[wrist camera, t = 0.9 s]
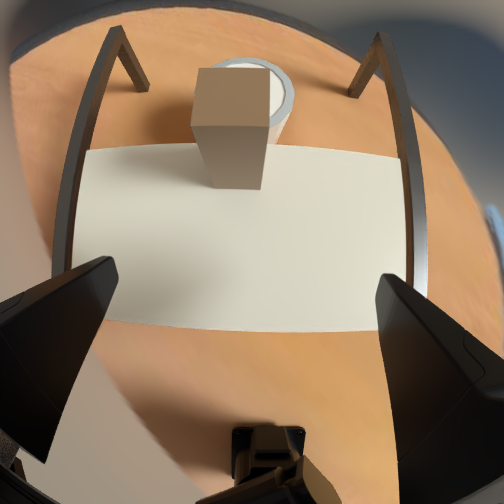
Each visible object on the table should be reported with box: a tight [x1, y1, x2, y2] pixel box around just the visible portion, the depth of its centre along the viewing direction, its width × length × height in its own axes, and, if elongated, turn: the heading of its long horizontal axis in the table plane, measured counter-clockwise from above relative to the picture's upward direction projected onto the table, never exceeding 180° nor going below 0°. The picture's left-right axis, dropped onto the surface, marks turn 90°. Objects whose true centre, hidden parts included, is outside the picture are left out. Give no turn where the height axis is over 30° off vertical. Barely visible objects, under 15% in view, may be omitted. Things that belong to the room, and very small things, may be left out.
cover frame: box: [52, 25, 428, 298], centre depth 20 cm, size 22×22×9 cm
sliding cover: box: [72, 67, 406, 332], centre depth 12 cm, size 10×19×8 cm, turn 88°
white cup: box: [194, 57, 295, 145], centre depth 21 cm, size 7×7×7 cm
